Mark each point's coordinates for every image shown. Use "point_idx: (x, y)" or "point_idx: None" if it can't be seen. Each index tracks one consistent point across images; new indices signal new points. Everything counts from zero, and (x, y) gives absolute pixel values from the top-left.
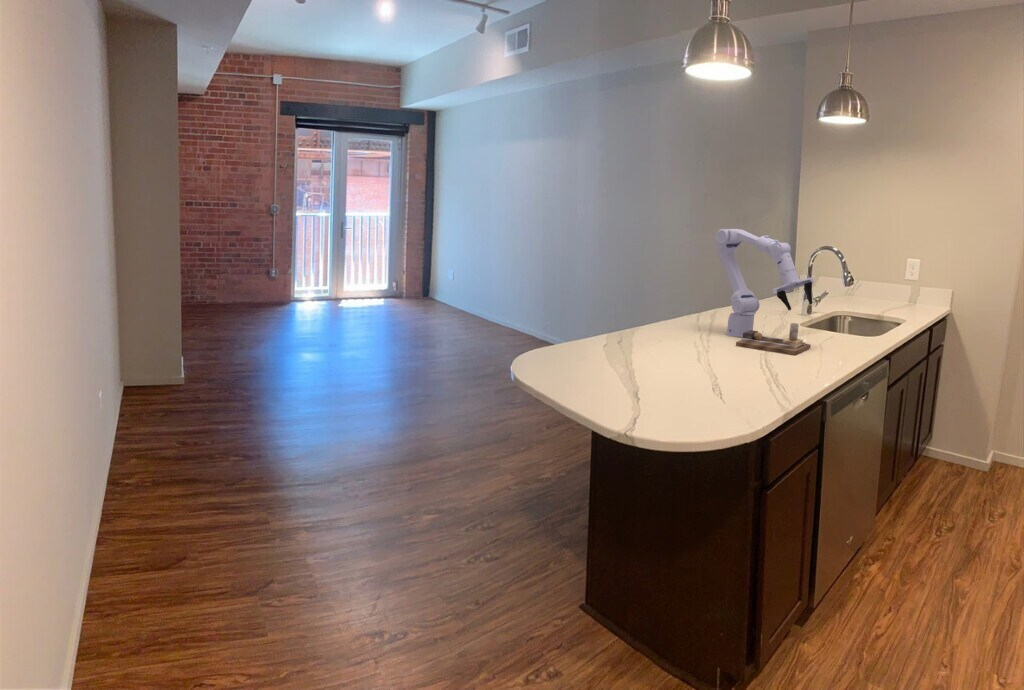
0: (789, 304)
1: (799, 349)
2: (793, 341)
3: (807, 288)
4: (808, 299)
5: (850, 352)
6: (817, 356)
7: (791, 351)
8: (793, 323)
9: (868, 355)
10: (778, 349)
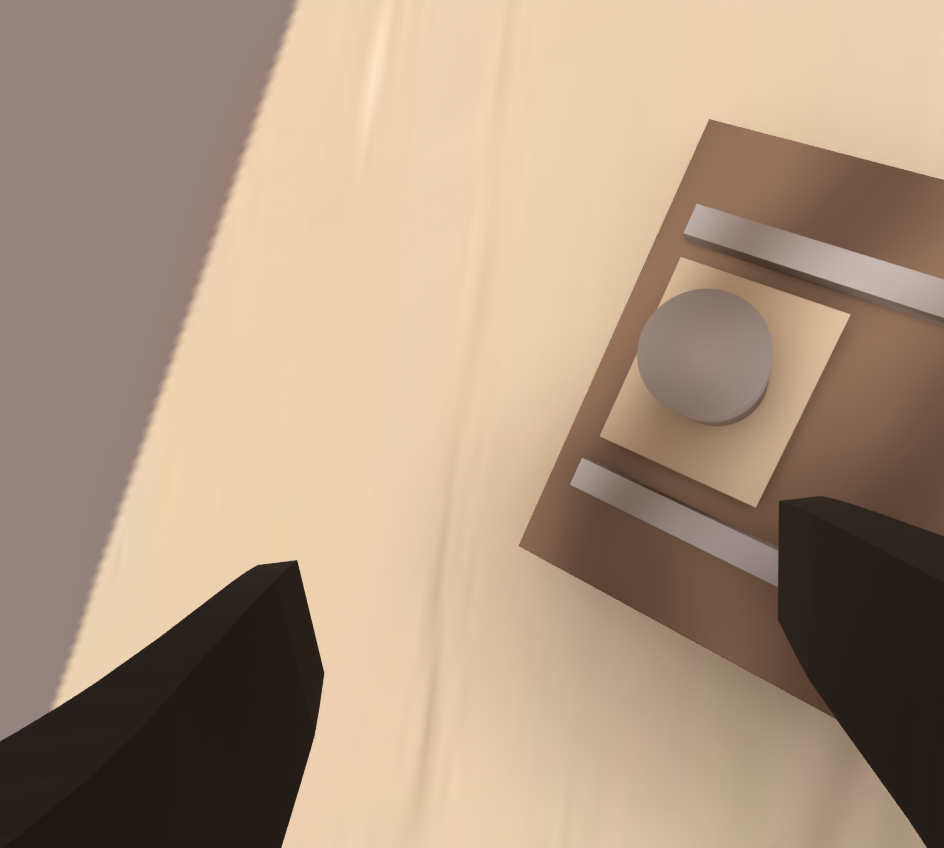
0: (852, 527)
1: (659, 235)
2: (719, 285)
3: (13, 806)
4: (285, 749)
5: (249, 502)
6: (510, 227)
7: (752, 134)
8: (719, 381)
9: (161, 436)
10: (901, 174)
